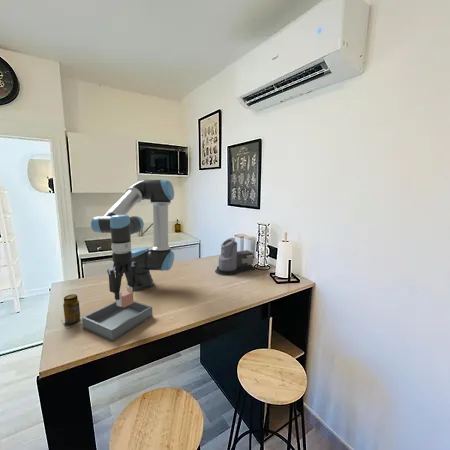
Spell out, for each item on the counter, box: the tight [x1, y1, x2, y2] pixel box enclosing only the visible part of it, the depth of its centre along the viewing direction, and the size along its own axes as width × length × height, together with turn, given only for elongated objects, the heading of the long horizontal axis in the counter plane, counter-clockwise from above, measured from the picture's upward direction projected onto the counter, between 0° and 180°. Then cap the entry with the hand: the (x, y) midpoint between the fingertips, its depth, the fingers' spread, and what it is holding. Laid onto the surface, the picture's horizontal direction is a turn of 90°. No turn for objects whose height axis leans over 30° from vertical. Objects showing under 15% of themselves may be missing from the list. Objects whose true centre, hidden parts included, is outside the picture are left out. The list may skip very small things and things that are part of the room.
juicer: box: [214, 237, 256, 277], centre depth 178 cm, size 30×16×24 cm, turn 116°
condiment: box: [61, 293, 83, 329], centre depth 111 cm, size 7×8×12 cm
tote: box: [81, 300, 153, 342], centre depth 111 cm, size 20×22×5 cm
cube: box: [116, 289, 134, 307], centre depth 107 cm, size 5×5×5 cm
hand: (125, 303), depth 107 cm, fingers closed on cube, 5 cm apart
